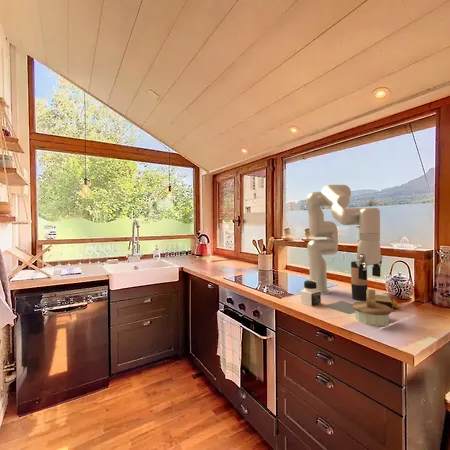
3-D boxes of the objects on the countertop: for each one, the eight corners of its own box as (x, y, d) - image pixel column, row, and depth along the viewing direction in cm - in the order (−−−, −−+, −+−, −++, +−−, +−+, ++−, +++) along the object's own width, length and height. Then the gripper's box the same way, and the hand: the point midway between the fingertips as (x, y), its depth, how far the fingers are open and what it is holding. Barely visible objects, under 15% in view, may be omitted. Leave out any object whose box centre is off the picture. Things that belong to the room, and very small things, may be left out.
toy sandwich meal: (368, 310, 117) (368, 300, 117) (369, 302, 129) (369, 293, 129) (401, 315, 111) (400, 304, 111) (399, 306, 122) (398, 296, 122)
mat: (323, 306, 124) (323, 305, 124) (341, 301, 130) (341, 300, 130) (349, 315, 111) (349, 314, 111) (367, 309, 118) (367, 308, 118)
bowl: (349, 319, 107) (349, 307, 107) (366, 313, 113) (366, 302, 113) (378, 329, 96) (377, 316, 96) (395, 322, 102) (394, 310, 102)
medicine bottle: (311, 307, 123) (311, 283, 123) (300, 303, 129) (299, 280, 129) (321, 304, 127) (320, 281, 127) (309, 301, 133) (309, 278, 133)
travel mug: (354, 296, 138) (353, 261, 138) (369, 299, 133) (368, 262, 133) (349, 300, 133) (348, 262, 133) (365, 303, 128) (364, 264, 128)
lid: (345, 307, 107) (345, 289, 107) (365, 301, 114) (364, 284, 114) (378, 317, 95) (378, 296, 95) (398, 310, 102) (398, 291, 102)
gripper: (372, 235, 112) (372, 273, 112) (348, 238, 104) (348, 278, 104) (390, 236, 105) (390, 276, 106) (365, 239, 97) (366, 282, 98)
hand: (369, 277), depth 105 cm, fingers open, 9 cm apart
